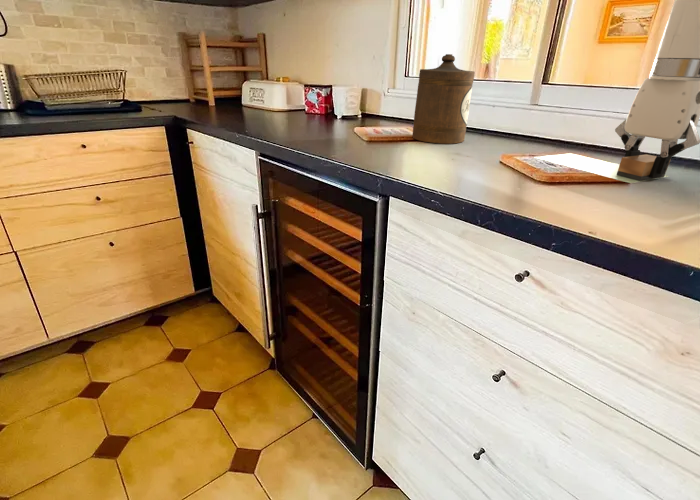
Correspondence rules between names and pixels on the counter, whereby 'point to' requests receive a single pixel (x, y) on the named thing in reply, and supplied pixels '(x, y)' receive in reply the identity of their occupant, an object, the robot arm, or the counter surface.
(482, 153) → the counter surface
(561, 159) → the board
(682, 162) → the counter surface
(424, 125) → the wooden container
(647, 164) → the eraser
